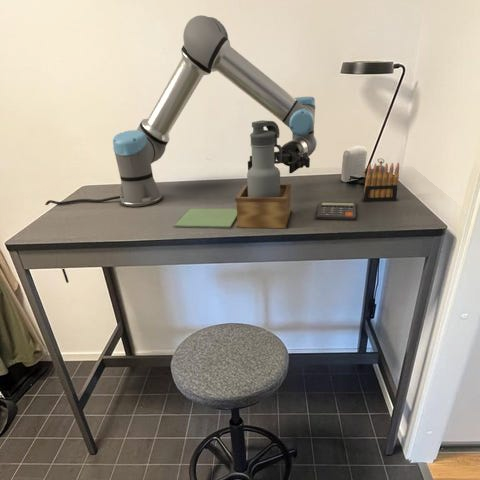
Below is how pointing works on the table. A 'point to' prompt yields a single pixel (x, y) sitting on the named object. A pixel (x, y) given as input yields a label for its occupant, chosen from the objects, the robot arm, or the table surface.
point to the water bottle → (264, 161)
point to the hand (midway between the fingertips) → (269, 167)
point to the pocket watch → (378, 169)
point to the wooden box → (264, 209)
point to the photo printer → (353, 162)
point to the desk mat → (208, 218)
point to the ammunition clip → (381, 184)
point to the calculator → (336, 210)
